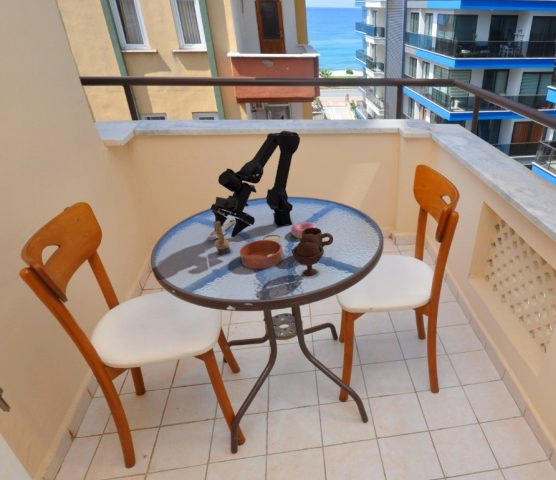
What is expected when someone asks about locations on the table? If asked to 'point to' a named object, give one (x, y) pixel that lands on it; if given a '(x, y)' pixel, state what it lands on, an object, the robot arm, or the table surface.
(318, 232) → the mug
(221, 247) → the dish brush
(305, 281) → the table surface
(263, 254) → the terracotta bowl
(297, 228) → the doughnut
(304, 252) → the ice cream bowl
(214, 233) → the paintbrush
